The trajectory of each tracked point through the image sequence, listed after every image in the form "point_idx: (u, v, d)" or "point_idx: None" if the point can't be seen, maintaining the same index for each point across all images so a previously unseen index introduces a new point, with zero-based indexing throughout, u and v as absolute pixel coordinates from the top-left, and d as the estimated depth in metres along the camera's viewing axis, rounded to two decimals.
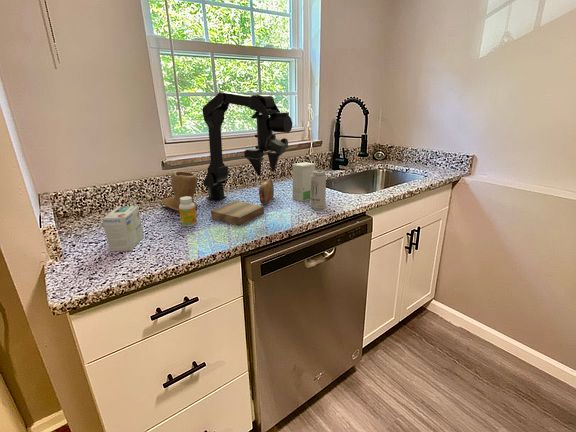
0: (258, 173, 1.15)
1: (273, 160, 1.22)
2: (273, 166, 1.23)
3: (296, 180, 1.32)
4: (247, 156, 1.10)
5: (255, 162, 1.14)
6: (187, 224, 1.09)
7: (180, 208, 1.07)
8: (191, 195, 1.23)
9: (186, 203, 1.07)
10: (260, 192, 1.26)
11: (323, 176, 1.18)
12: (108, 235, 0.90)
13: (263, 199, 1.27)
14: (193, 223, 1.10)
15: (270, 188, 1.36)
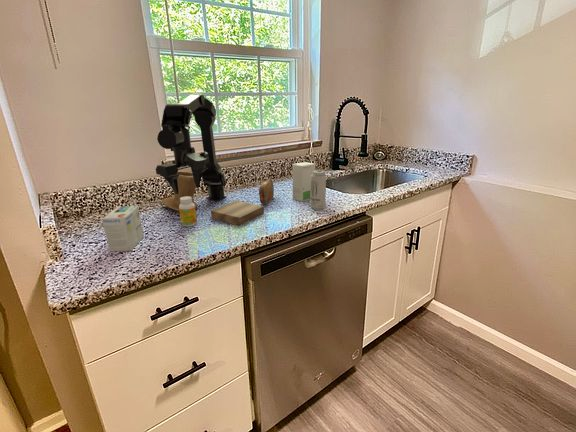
0: (175, 191, 1.03)
1: (197, 175, 1.10)
2: (197, 182, 1.10)
3: (296, 180, 1.32)
4: (159, 173, 0.98)
5: (170, 179, 1.01)
6: (187, 224, 1.09)
7: (180, 208, 1.07)
8: (191, 195, 1.23)
9: (186, 203, 1.07)
10: (260, 192, 1.26)
11: (323, 176, 1.18)
12: (108, 235, 0.90)
13: (263, 199, 1.27)
14: (193, 223, 1.10)
15: (270, 188, 1.36)
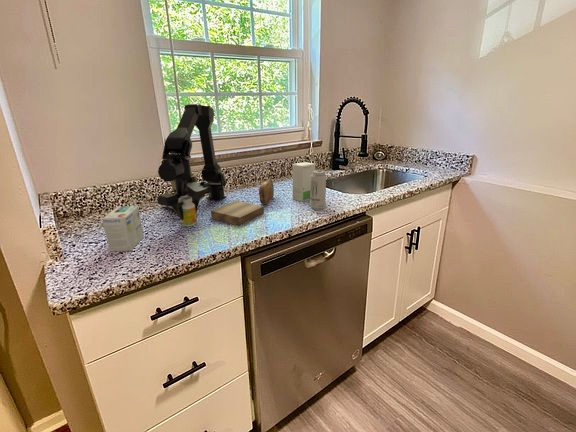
0: (180, 217, 1.08)
1: (194, 203, 1.11)
2: None
3: (296, 180, 1.32)
4: (160, 203, 1.01)
5: (176, 206, 1.06)
6: (187, 224, 1.09)
7: None
8: None
9: (186, 203, 1.07)
10: (260, 192, 1.26)
11: (323, 176, 1.18)
12: (108, 235, 0.90)
13: (263, 199, 1.27)
14: (193, 223, 1.10)
15: (270, 188, 1.36)
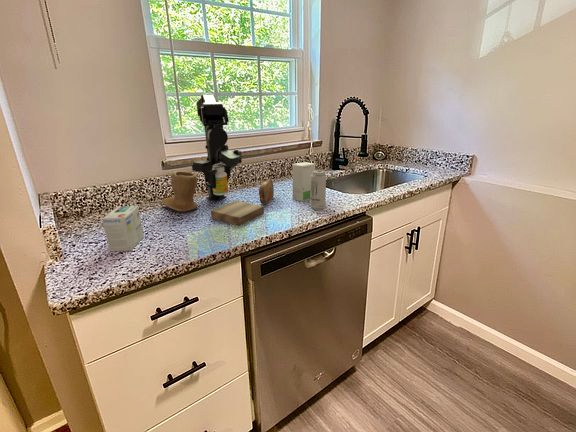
0: (213, 186, 1.09)
1: None
2: None
3: (296, 180, 1.32)
4: (195, 169, 1.02)
5: (209, 174, 1.07)
6: (219, 193, 1.10)
7: None
8: (191, 195, 1.23)
9: (219, 171, 1.08)
10: (260, 192, 1.26)
11: (323, 176, 1.18)
12: (108, 235, 0.90)
13: (263, 199, 1.27)
14: (225, 192, 1.11)
15: (270, 188, 1.36)
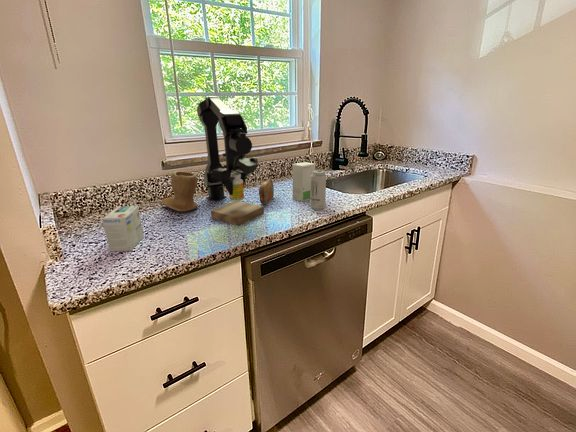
0: (230, 192, 1.12)
1: None
2: None
3: (296, 180, 1.32)
4: (213, 177, 1.06)
5: (226, 181, 1.10)
6: (236, 199, 1.13)
7: None
8: (191, 195, 1.23)
9: (236, 178, 1.11)
10: (260, 192, 1.26)
11: (323, 176, 1.18)
12: (108, 235, 0.90)
13: (263, 199, 1.27)
14: (241, 198, 1.14)
15: (270, 188, 1.36)
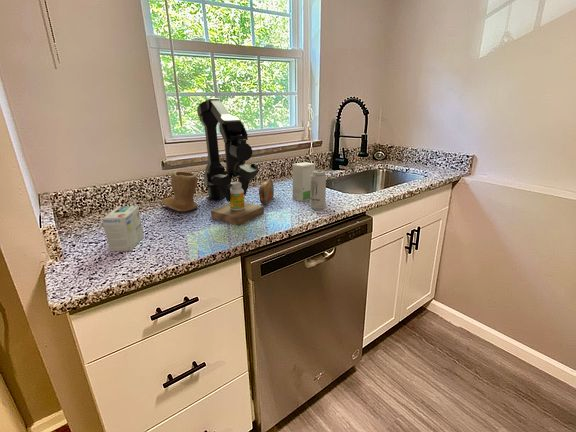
0: (227, 199, 1.12)
1: (244, 184, 1.18)
2: (244, 190, 1.18)
3: (296, 180, 1.32)
4: (214, 183, 1.06)
5: (224, 188, 1.10)
6: (237, 208, 1.15)
7: (231, 193, 1.13)
8: (191, 195, 1.23)
9: (237, 188, 1.13)
10: (260, 192, 1.26)
11: (323, 176, 1.18)
12: (108, 235, 0.90)
13: (263, 199, 1.27)
14: (242, 207, 1.15)
15: (270, 188, 1.36)
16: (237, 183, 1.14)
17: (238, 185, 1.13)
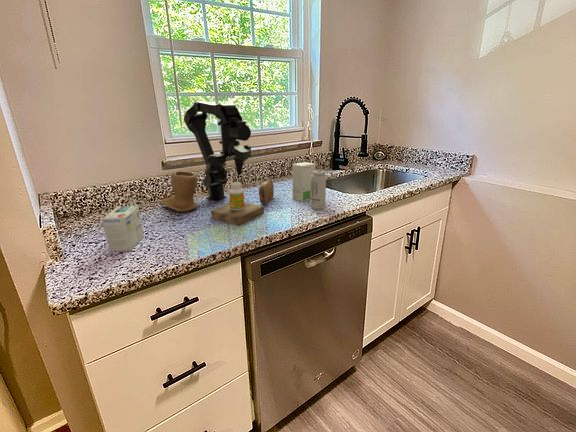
0: (222, 177, 1.22)
1: (239, 164, 1.28)
2: (239, 170, 1.29)
3: (296, 180, 1.32)
4: (210, 161, 1.17)
5: (219, 167, 1.20)
6: (237, 208, 1.15)
7: (231, 193, 1.13)
8: (191, 195, 1.23)
9: (237, 188, 1.13)
10: (260, 192, 1.26)
11: (323, 176, 1.18)
12: (108, 235, 0.90)
13: (263, 199, 1.27)
14: (242, 207, 1.15)
15: (270, 188, 1.36)
16: (237, 183, 1.14)
17: (238, 185, 1.13)
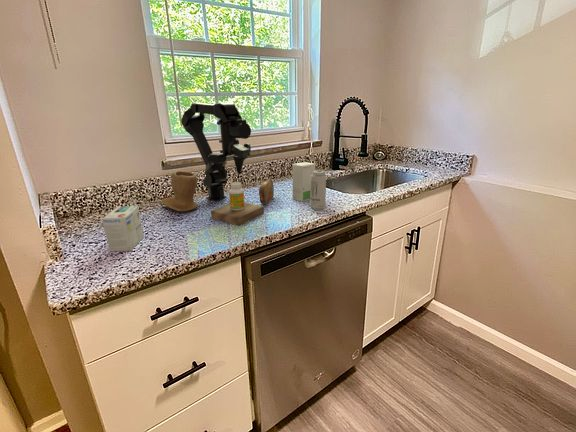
0: (222, 176, 1.23)
1: (239, 163, 1.29)
2: (239, 169, 1.30)
3: (296, 180, 1.32)
4: (211, 160, 1.18)
5: (219, 166, 1.21)
6: (237, 208, 1.15)
7: (231, 193, 1.13)
8: (191, 195, 1.23)
9: (236, 188, 1.13)
10: (260, 192, 1.26)
11: (323, 176, 1.18)
12: (108, 235, 0.90)
13: (263, 199, 1.27)
14: (242, 207, 1.15)
15: (270, 188, 1.36)
16: (237, 183, 1.14)
17: (238, 185, 1.13)
